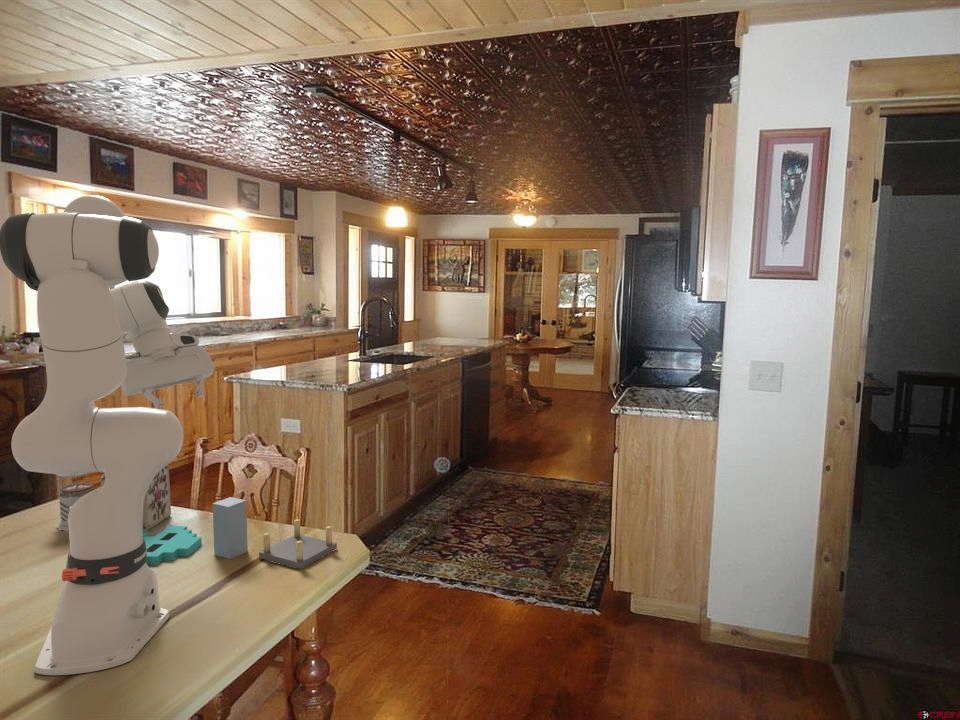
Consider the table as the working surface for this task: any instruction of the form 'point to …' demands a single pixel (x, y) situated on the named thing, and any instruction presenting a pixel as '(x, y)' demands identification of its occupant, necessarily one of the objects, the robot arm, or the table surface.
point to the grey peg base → (297, 548)
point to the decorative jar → (155, 499)
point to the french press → (65, 501)
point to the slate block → (230, 527)
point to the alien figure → (170, 544)
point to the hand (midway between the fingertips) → (180, 401)
